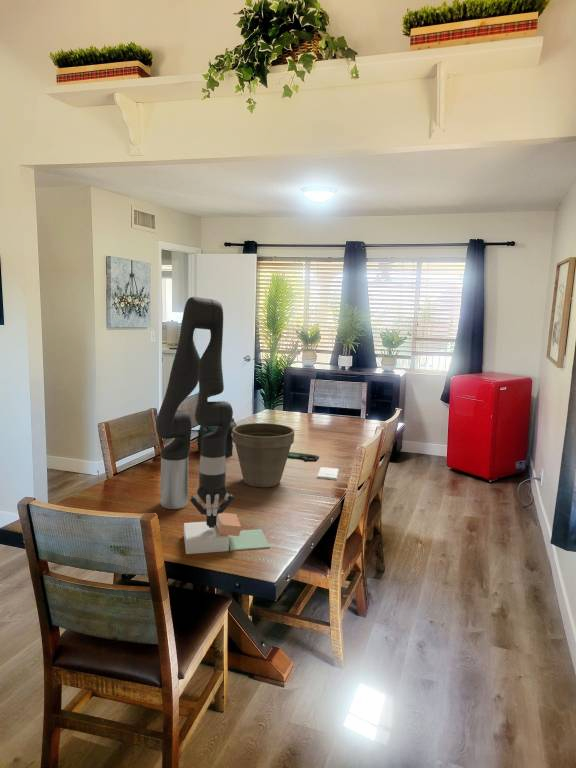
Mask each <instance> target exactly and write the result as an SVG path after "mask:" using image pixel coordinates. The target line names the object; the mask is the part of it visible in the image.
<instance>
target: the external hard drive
mask: <svg viewBox="0 0 576 768" xmlns="http://www.w3.org/2000/svg"><path fill="white" fill-rule="evenodd" d="M339 470H340V469H339V468H333V467H324V466H321V467H319V471H318V472H317V475H316V478H317V479H322V480H323V479H324V480H332V481H337V479H338V476H339Z"/></svg>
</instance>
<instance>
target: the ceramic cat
mask: <svg viewBox="0 0 576 768" xmlns="http://www.w3.org/2000/svg"><path fill="white" fill-rule="evenodd" d="M235 426H238V425H237V423H236V422H235V419H234V417H232V420H231V423H230V426H229V430H228V433H227V437H226V445H225V457H227V458H229V457H232V456H233V448H234V445H233V443H234V442H233V439H232V429H233V428H234V427H235ZM217 428H218V426H209V427H202V426H200V425H199V429H198V433H197V438H196V439H197V451H198V452H201V438H202V436H203V435H205V434H208V433H211V432H214V431H215V430H216V429H217Z"/></svg>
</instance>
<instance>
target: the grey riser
mask: <svg viewBox="0 0 576 768" xmlns="http://www.w3.org/2000/svg"><path fill="white" fill-rule="evenodd" d="M183 540H184V547H185V554H186V555H192V554H206V553H207V554H208V553H217V552H219V553H220V552H221V553H222V552H229V551H230V548H229V536H228V535H220V534H219V533H218V530H217V526H214V528H209V526H207V523H206V521H195V522H184V523H183Z"/></svg>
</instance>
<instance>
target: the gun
mask: <svg viewBox="0 0 576 768" xmlns="http://www.w3.org/2000/svg"><path fill="white" fill-rule="evenodd" d="M312 458H313V459H312ZM287 459H294V460H301V461H304V462H317V461H318V460H319V459H320V456H318V455H317V454H309V453H301V452H295V451H289V454H288V457H287Z"/></svg>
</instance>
